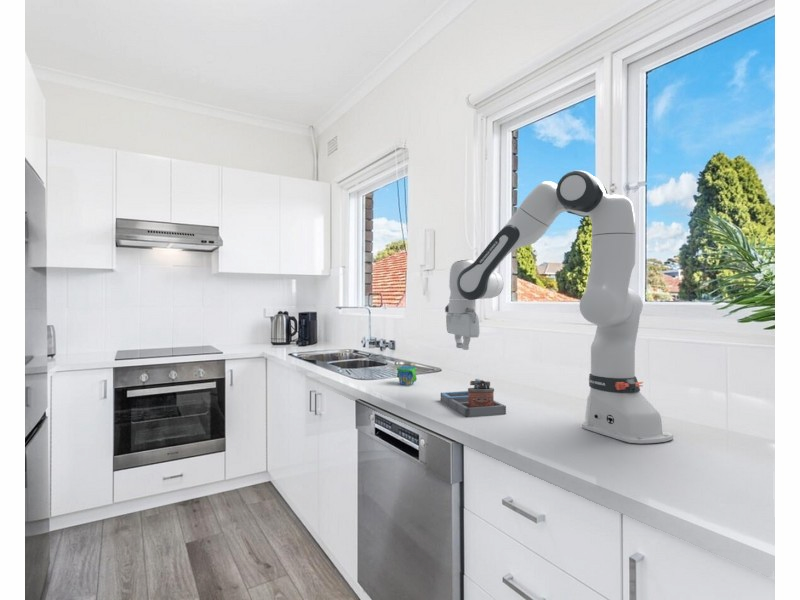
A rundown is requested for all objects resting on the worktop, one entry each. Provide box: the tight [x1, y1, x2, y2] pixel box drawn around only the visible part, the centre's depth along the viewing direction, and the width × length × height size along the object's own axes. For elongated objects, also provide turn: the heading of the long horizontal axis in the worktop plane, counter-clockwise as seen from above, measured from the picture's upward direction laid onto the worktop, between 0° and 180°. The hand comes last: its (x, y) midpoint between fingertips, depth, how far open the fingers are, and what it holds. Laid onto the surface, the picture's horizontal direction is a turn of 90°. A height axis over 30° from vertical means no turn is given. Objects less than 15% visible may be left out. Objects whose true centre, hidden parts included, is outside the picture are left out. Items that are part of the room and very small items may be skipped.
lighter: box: [467, 379, 495, 408], centre depth 140 cm, size 8×3×10 cm, turn 91°
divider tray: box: [440, 378, 507, 418], centre depth 147 cm, size 22×14×7 cm, turn 15°
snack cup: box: [396, 365, 418, 387], centre depth 184 cm, size 11×8×7 cm
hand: (462, 348), depth 153 cm, fingers open, 4 cm apart
